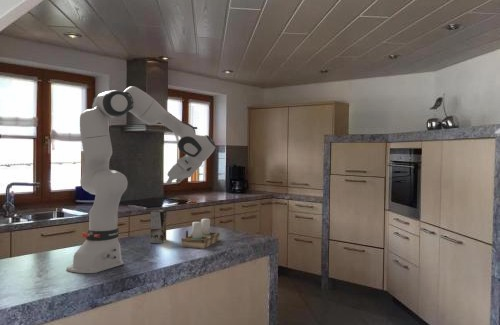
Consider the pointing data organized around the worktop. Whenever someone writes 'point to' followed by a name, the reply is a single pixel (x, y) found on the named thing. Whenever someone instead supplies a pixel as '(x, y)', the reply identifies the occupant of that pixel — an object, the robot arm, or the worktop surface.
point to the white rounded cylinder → (196, 230)
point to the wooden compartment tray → (198, 243)
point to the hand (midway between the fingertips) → (172, 182)
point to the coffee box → (158, 226)
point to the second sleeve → (205, 226)
